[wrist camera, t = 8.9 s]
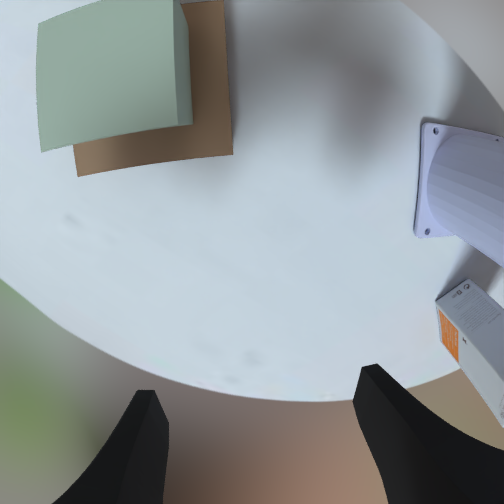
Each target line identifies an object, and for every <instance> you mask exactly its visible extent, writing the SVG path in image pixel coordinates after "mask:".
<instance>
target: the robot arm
mask: <svg viewBox="0 0 504 504" xmlns="http://www.w3.org/2000/svg"><path fill="white" fill-rule="evenodd" d="M434 128H435V133H433V129H434ZM426 229H427V231H426V232H425V230H426ZM414 234H415V236H417V237H418V238H431V237H441V236H452V235H456V236H458V237H459V238H461V239H462V240H464V241H465V242H467V243H468V244H470V245H471V246H473V247H474V248H476V249H477V250H479V251H480V252H482V253H483V254H485V255H486V256H488V257H489V258H490V259H492V260H493V261H495V262H496V263H498V264H499V265H500V266H502V267H503V268H504V137H500V136H496V135H492V134H488V133H483V132H479V131H474V130H469V129H464V128H459V127H453V126H448V125H442V124H435V123H429V122H426V123H424V124H423V126H422V138H421V165H420V180H419V192H418V203H417V212H416V220H415V228H414ZM353 405H354V408H355V412H356V416H357V419H358V422H359V425H360V428H361V430H362V432H363V435H364V437H365V439H366V442H367V444H368V446H369V448H370V451H371V453H372V456H373V458H374V460H375V462H376V465H377V467H378V469H379V472H380V475H381V477H382V480H383V484H384V488H385V492H386V495H387V499H388V504H504V451H503V450H501V449H497V448H495V447H492V446H490V445H488V444H485V443H483V442H481V441H479V440H477V439H475V438H473V437H471V436H469V435H467V434H465V433H463V432H462V431H460V430H458V429H457V428H455V427H453V426H451V425H450V424H449V423H447V422H446V421H444V420H443V419H441V418H440V417H439V416H437V415H436V414H434V413H433V412H432V411H430V410H429V409H428V408H427V407H426V406H424V405H423V404H422V403H421V402H420V401H418V400H417V399H416V398H415V397H414V396H412V395H411V394H410V393H409V392H408V391H407V390H406V389H404V388H403V387H402V386H401V385H400V384H399V383H398V382H397V381H396V380H395V379H394V378H392V377H391V376H390V375H389V374H388V373H387V372H386V371H385V370H384V369H383V368H382V367H381V366H379V365H378V364H373V365H369V366H364V367H362V369H361V373H360V376H359V380H358V384H357V388H356V391H355V395H354V398H353ZM168 449H169V422H168V420H167V418H166V415H165V413H164V411H163V409H162V407H161V404H160V402H159V400H158V398H157V395H156V393H155V390H138V391H136V393H135V395H134V396H133V398H132V400H131V402H130V404H129V405H128V407H127V409H126V411H125V412H124V414H123V416H122V417H121V419H120V421H119V423H118V424H117V426H116V427H115V429H114V430H113V432H112V434H111V435H110V437H109V438H108V440H107V441H106V443H105V445H104V446H103V447H102V449H101V450H100V451H99V453H98V454H97V456H96V457H95V458H94V460H93V461H92V462H91V464H90V465H89V466H88V467H87V469H86V470H85V471H84V472H83V473H82V475H81V476H80V477H79V478H78V479H77V480H76V481H75V482H74V483H73V484H72V485H71V487H70V488H69V489H68V490H67V491H66V492H65V493H64V494H63V495H61V496H60V498H58V499H57V500H56V501H55V502H54V503H52V504H163V492H164V483H165V475H166V466H167V457H168Z"/></svg>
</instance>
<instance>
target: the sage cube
mask: <svg viewBox="0 0 504 504" xmlns="http://www.w3.org/2000/svg"><path fill="white" fill-rule="evenodd" d="M36 94H37V114H38V127H39V137H40V146H41V152H45V151H49V150H53V149H57V148H61V147H65V146H69V145H74V144H78V143H83V142H88V141H93V140H98V139H102V138H107V137H112V136H117V135H123V134H128V133H134V132H140V131H146V130H153V129H160V128H167V127H174V126H183V125H191V124H193V111H192V96H191V78H190V57H189V29H188V24H187V21H186V18H185V16H184V13H183V10H182V7H181V5H180V2H179V0H101V1H97V2H94V3H91V4H88V5H85V6H82V7H79V8H76V9H74V10H71V11H68V12H66V13H63V14H60V15H58V16H55V17H53V18H51V19H48V20H46V21H44V22H41V23H39V24H38V36H37V55H36Z"/></svg>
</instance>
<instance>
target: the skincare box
mask: <svg viewBox="0 0 504 504" xmlns="http://www.w3.org/2000/svg"><path fill="white" fill-rule="evenodd" d="M436 307H437V313H438V320H439V329H440V341H441V343H442V344H443V345H444V346H445V348H446V349H447V350H448V352H449V353H450V354H451V355H452V357H453V358H454V359H455V361H456V362H457V363H458V365H459V366H460V367H461V369H462V370H463V371H464V373H465V374H466V375H467V377H468V378H469V379H470V381H471V382H472V384H473V385H474V386H475V388H476V389H477V390H478V392H479V393H480V395H481V396H482V398H483V399H484V400H485V402H486V403H487V405H488V406H489V408H490V409H491V411H492V412H493V414H494V415H495V417H496V418H497V420H498V421H499V423H500V424H501V426H502V427H503V428H504V309H503V308H502V307H501V306H500V305H499V304H498V303H497V302H496V301H495V300H494V299H492V298H491V297H490V296H489V295H488V294H487V293H486V292H485V291H484V290H482V289H481V288H480V287H479V286H478V285H477V284H475V283H474V282H473V281H472V280H471V279H467V280H465V281H464V282H462V283H461V284H460V285H458V286H457V287H456V288H454V289H453V290H451V291H450V292H449V293H447V294H446V295H444V296H443V297H441V298H440V299H438V300H437V301H436Z"/></svg>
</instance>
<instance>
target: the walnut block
mask: <svg viewBox="0 0 504 504" xmlns="http://www.w3.org/2000/svg"><path fill="white" fill-rule="evenodd" d="M180 5H181V7H182V10H183V13H184V16H185V18H186V21H187V24H188V29H189V57H190V78H191V96H192V111H193V124H191V125H183V126H174V127H167V128H160V129H153V130H146V131H140V132H134V133H128V134H123V135H117V136H112V137H107V138H102V139H98V140H93V141H88V142H83V143H78V144H74V145H73V148H74V156H75V163H76V169H77V175H78V177H80V176H85V175H90V174H95V173H100V172H106V171H111V170H117V169H123V168H128V167H135V166H141V165H148V164H155V163H162V162H169V161H177V160H185V159H194V158H203V157H213V156H224V155H233V143H232V129H231V114H230V99H229V83H228V67H227V51H226V34H225V16H224V0H217V1H205V2H196V3H187V4H180Z"/></svg>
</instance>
